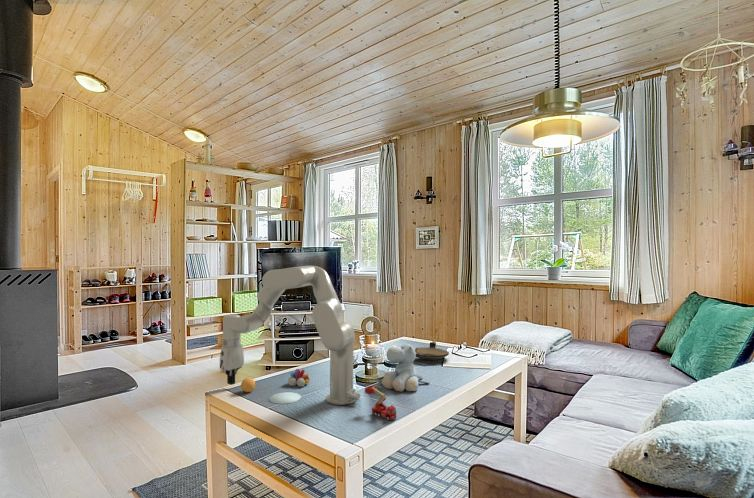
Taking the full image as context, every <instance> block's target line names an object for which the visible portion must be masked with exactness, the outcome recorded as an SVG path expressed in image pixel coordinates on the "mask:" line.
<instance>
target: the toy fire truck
mask: <svg viewBox="0 0 754 498" xmlns="http://www.w3.org/2000/svg"><path fill="white" fill-rule="evenodd" d="M364 393H365V394H367V395H373V394H377V395H378V396H379V397H378V399H377V401H376V403H375V404H374V407H372V408H371V414H374V416H375V417H378V418H384V419H386V420H387V421H394V420H395V419H397V408H396V407H395V406H394V405H392V404H391V405H390V406H388V407H387V405H385V404H384V403H383V402H385V401H386V399H387V396H386V394H385V393H383V392H381V391H379V390H378V389H377V386H376V385H370V386H368V387H364Z"/></svg>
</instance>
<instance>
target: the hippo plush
mask: <svg viewBox="0 0 754 498" xmlns="http://www.w3.org/2000/svg"><path fill="white" fill-rule="evenodd" d="M415 349H416V348H415V347H414V346H412V345H411V344H409V343H405V344H402V345H401V346H400V347H399V346H391V347H389V348H388V350H387V351H386V358H387V361H389V362H390V363H391V364H397V365H396V367H395V369H394V371H393V370H388V371H386V372H385V373H384V375H383V379H382V380H381V384H382V386H383V387H385V389H387V388H388V389H387V390H395V391H396V392H398V391H399V392H404V391H406V392H410V391H414V392H416V391H417V390H418V389H419V383H421V384H425V383H429V384H430V381H424V380H423V379H424V377H423V376H422V375H421V374H419V373H418V371H417V370H416V369H415V368H414V361H415V360H416V358H417V357H416V354H417V353H416V352H415ZM422 378H423V379H422ZM419 379H420V380H419Z"/></svg>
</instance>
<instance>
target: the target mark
mask: <svg viewBox="0 0 754 498" xmlns="http://www.w3.org/2000/svg"><path fill="white" fill-rule="evenodd" d="M301 399H302V395H300V393H296V392H292V391H291V392H290V391H289V392H286V391H285V392H279V393H278V392H277V393H275V394H272V395H271V396H270V397H269V398H268V401H269V402H270V403H272V404H277V405H286V404H287V405H288V404H293V403H296V402H298V401H300V400H301Z"/></svg>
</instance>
